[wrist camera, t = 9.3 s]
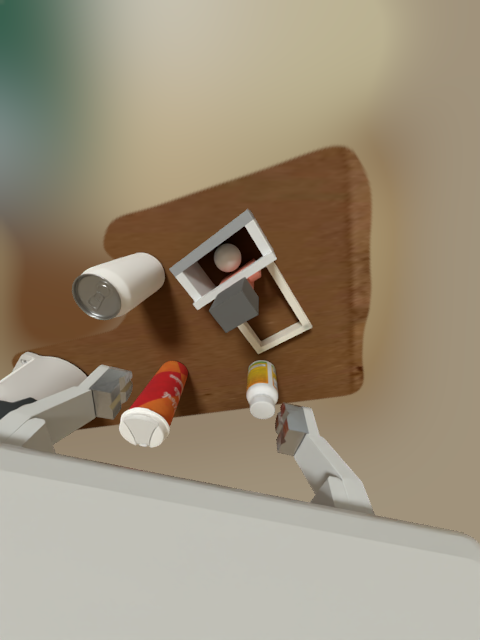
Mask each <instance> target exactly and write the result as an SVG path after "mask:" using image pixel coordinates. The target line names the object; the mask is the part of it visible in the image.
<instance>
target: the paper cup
mask: <svg viewBox="0 0 480 640" xmlns="http://www.w3.org/2000/svg"><path fill="white" fill-rule="evenodd" d="M187 376H188V370H187V368H186V367H185V366H184V365H183V364H182V363H180V362H178V361H168V362H166V363H164V364H163V366H162V367H161V368H160V369H159V370H158V372H157V373H156V374H155V376H154V377H153V378H152V380H151V381H150V382H149V383H148V385H147V386H146V387H145V389H144V390H143V391H142V393H141V394H140V395H139V397H138V398H137V399H136V401H135V402H134V403H133V405H132V406H131V407H130V408H129V410H127V411H125V412H124V413H123V414H122V416H121V422H120V425H119V430H120V433H121V435H122V436H123V437H124V438H125V439H126V440H127V441H129V442H130V443H132V444H134V445H137V444H139V445H140V446H144V447H147V446H150V447H156V446H158V445H160V444H161V443H162V442H163V440H164V439H166V438H167V437H168V435H169V433H170V425H171V422H172V419H173V416H174V414H175V411H176V408H177V405H178V402H179V400H180V397H181V394H182V391H183V388H184V386H185V383H186V380H187Z"/></svg>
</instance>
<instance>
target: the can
mask: <svg viewBox="0 0 480 640" xmlns="http://www.w3.org/2000/svg"><path fill="white" fill-rule="evenodd" d="M164 280H165V273H164V269H163V267H162V265H161V263H160V262H159V261H158V260H157V259H156V258H154V257H153V256H151V255H149V254H147V253H136V254H132V255H129V256H126V257H123V258H119V259H116V260H113V261H110V262H106V263H103V264H101V265H97V266H94V267H91V268H89V269H87V270H86V271H84V272H83V273H82V275H80V276H78V277H77V278H76V279H75V281H74V282H73V285H72V293H73V297H74V299H75V301H76V303H77V305H78V306H79V307H80V308H81V309H82V310H83V311H84V312H85V313H86V314H88V315H89V316H91V317H93V318H96V319H100V320H109V319H112V318H114V317H120V316H122V315H124V314H126V313H127V312H129V311H130V310H132V309H133V308H134V307H136V306H137V305H138V304H140V303H141V302H143V301H144V300H145V299H147V298H148V297H149V296H151V295H152V294H153V293H155V292H156V291H157V290H159V289H160V288H161V287H162V285H163V283H164Z"/></svg>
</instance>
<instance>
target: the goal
mask: <svg viewBox="0 0 480 640" xmlns="http://www.w3.org/2000/svg"><path fill="white" fill-rule="evenodd" d="M244 226H245V227H246V229H247V231H248V232H249V234H250V236H251V237H252V239H253V240H254V242H255V244H256V245H257V247H258V249H259V250H260V252H261V254H262V255H263V257H261V258H260V259H258V260H257V261H255V262H254V263H252V264H251V265H249V266H248V267H246V268H244V269H243V270H241V271H240V272H238V273H237V274H235V275H234V276H232V277H231V278H229V279H228V280H226V281H225V282H223V283H222V284H220V285H219V286H217V287H216V286H215V285H214V284H213V282H212V281H211V280H210V278H209V277H208V276H207V274H206V273H205V272H204V270H203V269H202V267H201V266H200V265H199V263H198V262H197V261H198V260H199V259H200V258H202V257H203V256H204V255H206V254H207V253H209V252H210V251H211V250H213V249H214V248H215V247H217V246H218V245H219V244H221V243H222V242H223V241H225V240H226V239H228V238H229V237H230V236H232V235H233V234H234V233H236V232H237V231H238V230H240V229H241V228H242V227H244ZM275 260H276V256H275V253H274V251H273V248H272V247H271V245H270V243H269V242H268V240H267V238H266V236H265V235H264V233H263V231H262V230H261V228H260V226H259V224H258V223H257V221H256V219H255V218H254V216H253V214H252V213H251V211H250V210H248V209H247V210H246V211H245V212H243V213H242V214H241V215H239V216H238V217H237V218H235V219H234V220H233V221H232V222H230V223H229V224H228V225H226V226H225V227H224V228H222V229H221V230H220V231H218V232H217V233H216V234H215V235H213V236H212V237H211V238H209V239H208V240H207V241H205V242H204V243H203V244H201V245H200V246H199V247H197V248H196V249H195V250H194V251H192V252H191V253H190V254H188V255H187V256H186V257H184V258H183V259H182V260H180V261H179V262H178V263H177V264H175V265H174V266H173V267H171V268H170V269H169V270H170V271H171V272H172V273H173V275H174V276H175V277H176V278H177V280H178V281H179V282H180V283H181V285H182V286H183V287H184V288H185V290H186V291H187V292H188V293H189V295H190V296H191V297H192V298H193V300H194V301H195V302H194V303H193V305H194V306H195V308H196V309H197V310H198V309H200V308H201V307H203V306H205V305H206V304H208V303H209V302H211V301H212V300H214V299H215V298H216V296H217V295H218V294H219V293H220V292H222V291H223V290H225V289H226V288H228V287H230V286H231V285H233V284H234V283H236V282H237V281H239V280H240V279H242V278H243V277H245V278H246V279H247V278H248V277H250V276H251V275H253V274H255V273H256V272H258V271H259V270H261V269H262V268H264V267H265V266H267V265H269V264H270V263H272V262H273V261H275Z"/></svg>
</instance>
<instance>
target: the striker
mask: <svg viewBox="0 0 480 640" xmlns="http://www.w3.org/2000/svg"><path fill="white" fill-rule="evenodd" d="M255 261H256V260H255V259H254V258H253V259H252V260H251V261H249V262H248V263H246V264H245V265H243V266H242V267H240V268H239V269H237V270H236V271H234V272H233V273H231V274H230V275H228V276H227V277H225V278H224V279H222V281H221V283H220V284H222V283H223V282H225V281H226V280H228V279H229V278H231V277H232V276H234V275H235V274H237V273H238V272H240V271H241V270H243V269H244V268H246V267H248V266H249V265H251V264H252V263H254V262H255ZM260 277H261V270H259V271H258V272H256V273H255V274H253V275H251V276H250V277H248V278H247V279H246V278H245V277H243V278H242V279H240V280H239V281H237V282H236V283H234V284H233V285H231V286H230V287H228V288H226V289H225V290H223V291H222V292H220V293H219V294H218V295H217V296H216V298H215V300H214V302H213V304H212V306H211V308H210V309H209V312H210V313H211V314H212V316H213V317H214V318H215V319H216V321H217V322H218V323H219V325H220V326H221V327H222V328H223V330H224V331H225V332H226V333H227V332H229V331H230V330H232V329H234V328H236V327H237V326H239V325H241V324H243V323H245V322H246V321H248V320H250V319H252V318H253V317H255V316H257V315H258V306H259V297H258V295H257V294H256V292H255V291H254V281H255V280H257V279H258V278H260ZM220 284H219V285H220Z"/></svg>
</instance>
